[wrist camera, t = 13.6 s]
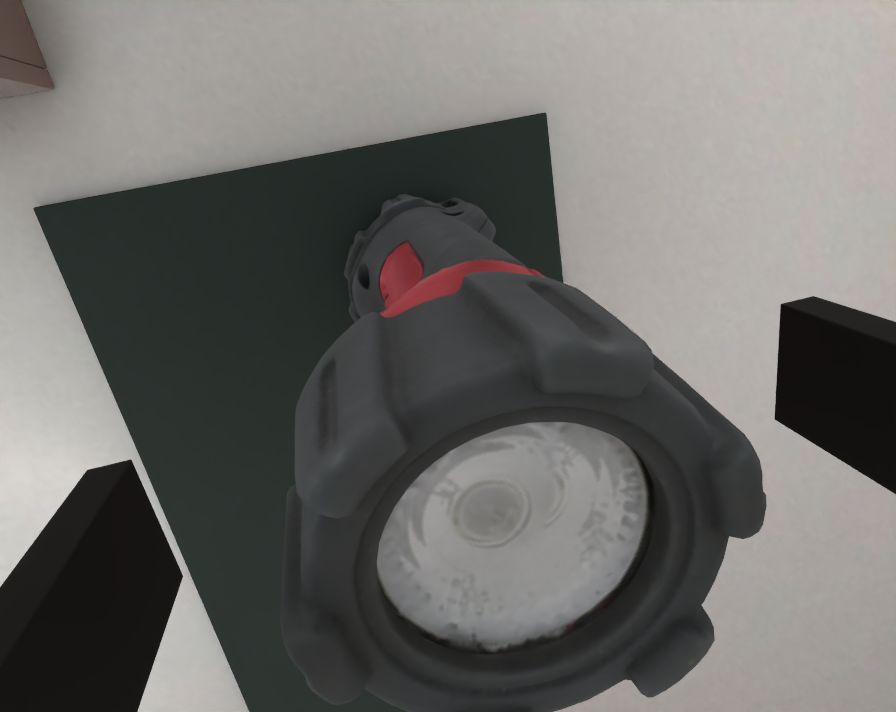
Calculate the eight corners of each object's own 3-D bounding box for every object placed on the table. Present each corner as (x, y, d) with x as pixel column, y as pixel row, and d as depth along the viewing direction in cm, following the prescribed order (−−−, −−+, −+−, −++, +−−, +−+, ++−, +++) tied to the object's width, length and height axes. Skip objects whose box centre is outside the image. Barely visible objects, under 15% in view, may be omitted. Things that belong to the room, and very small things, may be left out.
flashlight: (312, 337, 30) (265, 811, 8) (318, 181, 27) (273, 291, 6) (458, 344, 31) (725, 753, 10) (475, 198, 29) (880, 331, 8)
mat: (543, 113, 28) (546, 112, 28) (600, 680, 43) (603, 686, 43) (37, 206, 26) (32, 207, 25) (282, 780, 40) (281, 787, 40)
